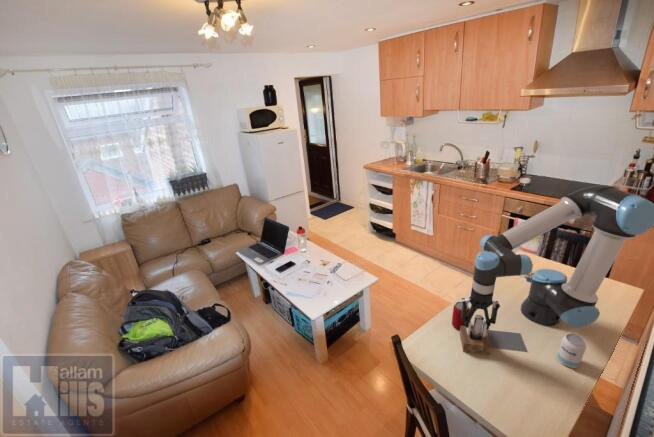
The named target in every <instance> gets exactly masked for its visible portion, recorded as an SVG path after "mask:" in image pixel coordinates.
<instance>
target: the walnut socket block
mask: <svg viewBox="0 0 654 437" xmlns="http://www.w3.org/2000/svg"><path fill="white" fill-rule="evenodd" d="M472 330H473V326H471V329H470V335H468V334H467V328H466V327H465V326H460V330H459V337H460V342H461V348H462V352H463V353H469V354H470V353H471V354H479V355H486V356H490V355H491V354H490V353H491V349H492V348H491V345H490V341H489V338H488V334H487V331H486V333H485V337H483V335H482V332H481V335H480V339H479V340H474V339H471V335H472ZM481 331H482V330H481Z"/></svg>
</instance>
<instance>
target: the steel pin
mask: <svg viewBox="0 0 654 437" xmlns="http://www.w3.org/2000/svg"><path fill="white" fill-rule="evenodd" d="M483 320H485V317H484V316H483V315H482V314H481V315H480V314H475V316H474V321H473V326H472V327H473V330H472V335H471V339H474V340H479V339H480V335H481V330H482V326H483Z"/></svg>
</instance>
